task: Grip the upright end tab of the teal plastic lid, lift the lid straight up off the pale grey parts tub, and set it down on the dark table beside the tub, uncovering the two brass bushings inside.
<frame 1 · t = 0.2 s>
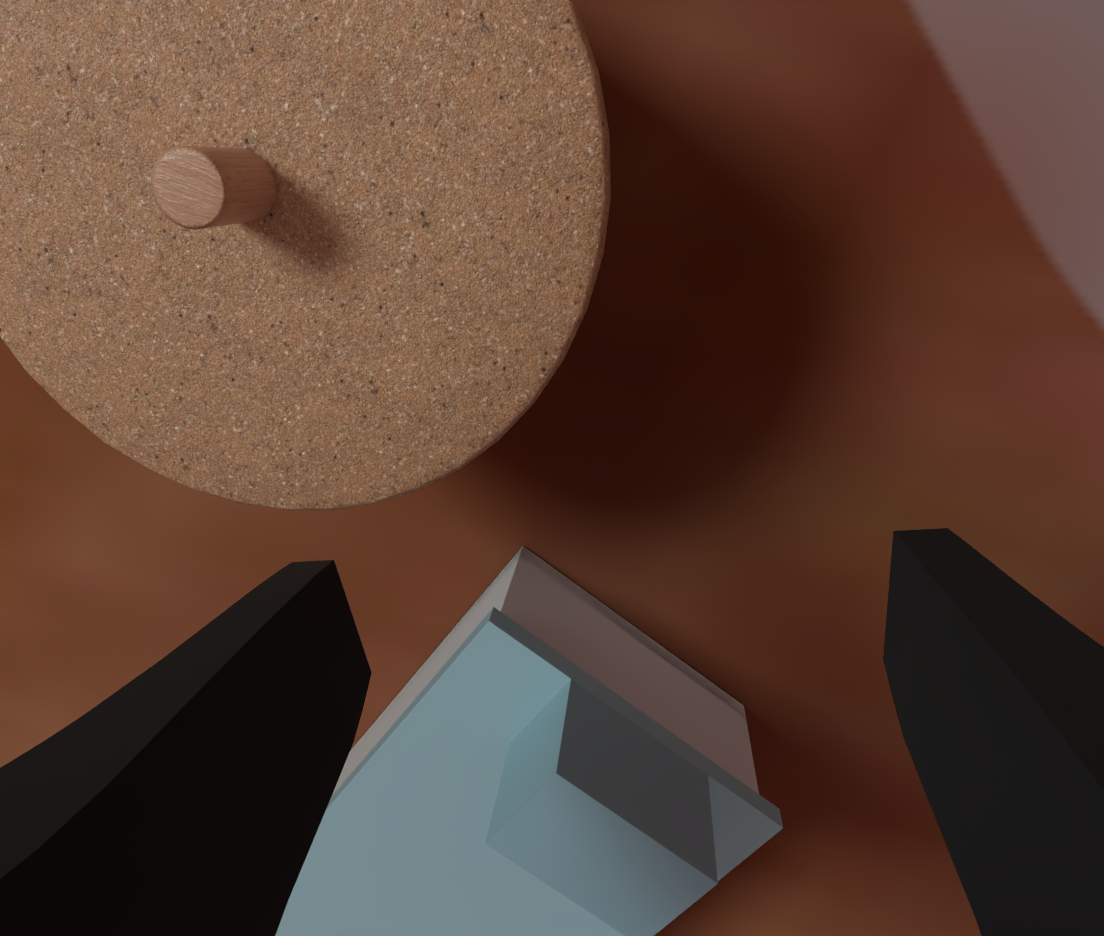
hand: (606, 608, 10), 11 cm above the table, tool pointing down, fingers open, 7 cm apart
lidded jar: (403, 177, 19), on the table
tub: (513, 754, 25), on the table
lid: (478, 904, 20), point 5 cm above the table, touching tub
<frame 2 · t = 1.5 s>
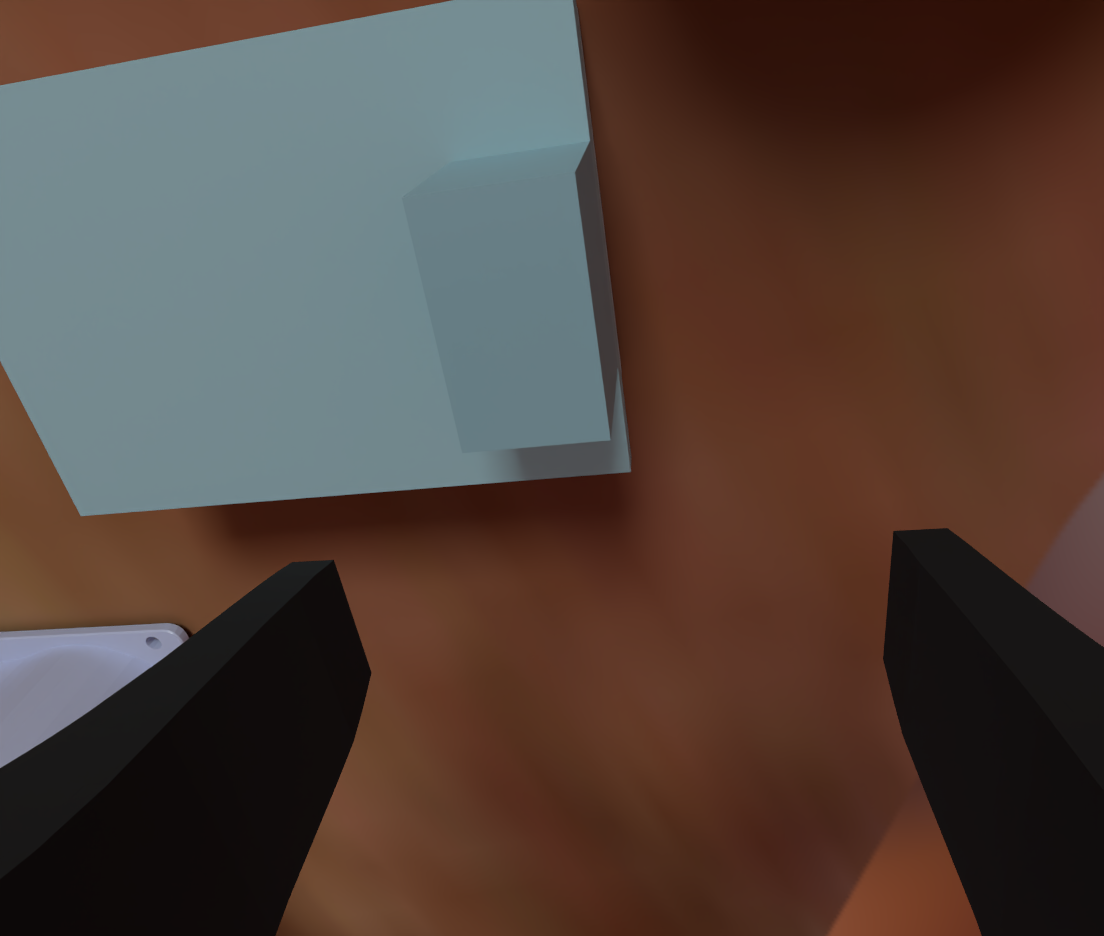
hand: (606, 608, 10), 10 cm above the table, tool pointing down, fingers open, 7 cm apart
tub: (353, 242, 19), on the table
lid: (256, 316, 14), point 5 cm above the table, touching tub
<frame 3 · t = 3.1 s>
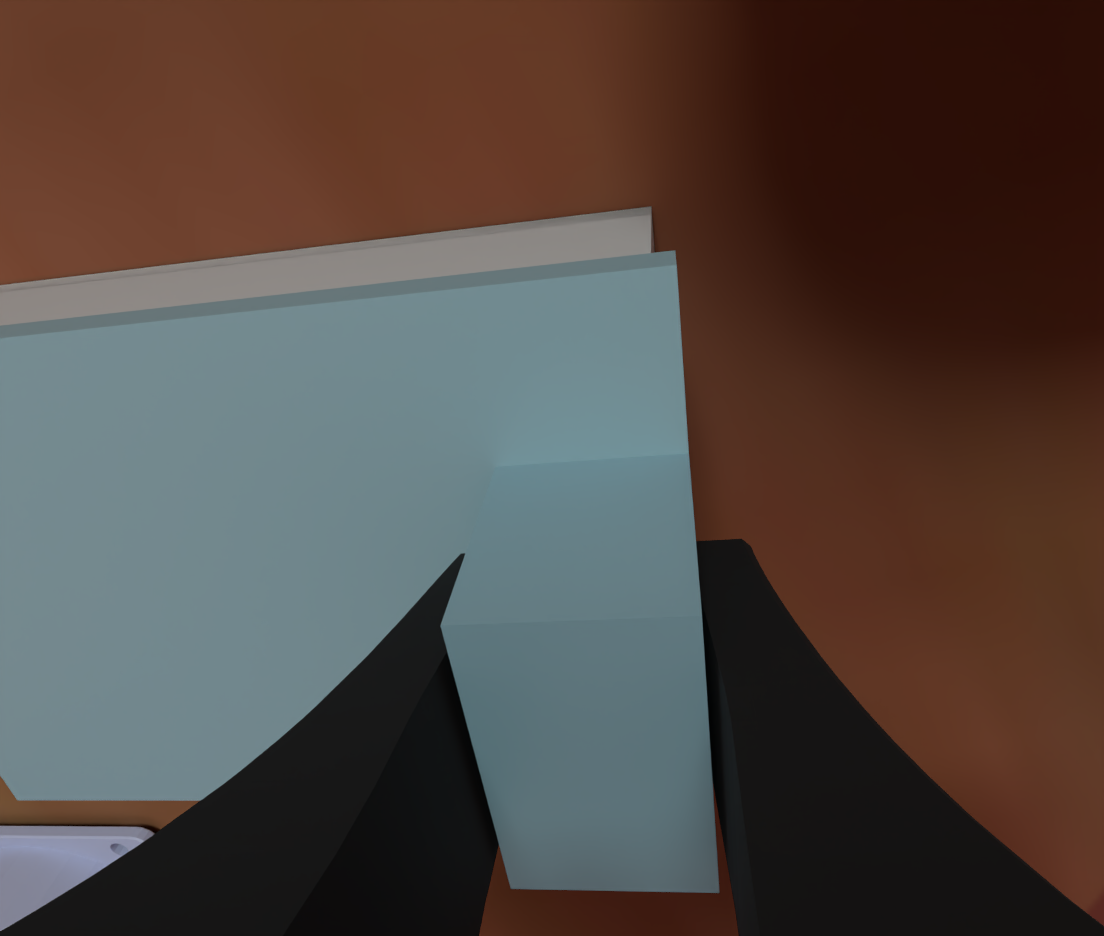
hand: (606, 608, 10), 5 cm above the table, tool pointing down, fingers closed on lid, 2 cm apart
tub: (359, 453, 16), on the table
lid: (234, 641, 11), point 5 cm above the table, touching gripper, tub
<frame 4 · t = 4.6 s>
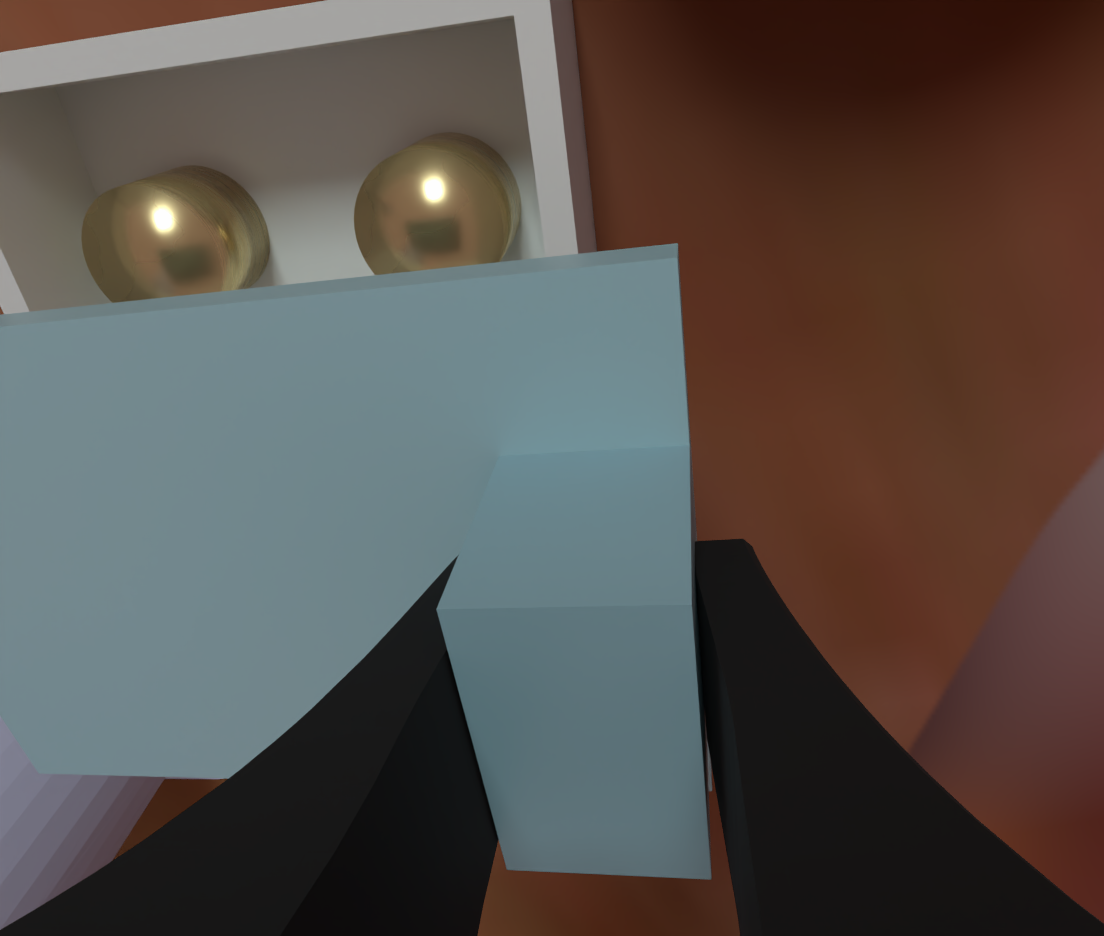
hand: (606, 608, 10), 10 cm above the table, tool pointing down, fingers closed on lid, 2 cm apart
bushing a: (207, 232, 19), point 1 cm above the table, touching tub
bushing b: (454, 204, 18), point 1 cm above the table, touching tub
tub: (336, 213, 19), on the table
lid: (244, 623, 11), point 10 cm above the table, touching gripper
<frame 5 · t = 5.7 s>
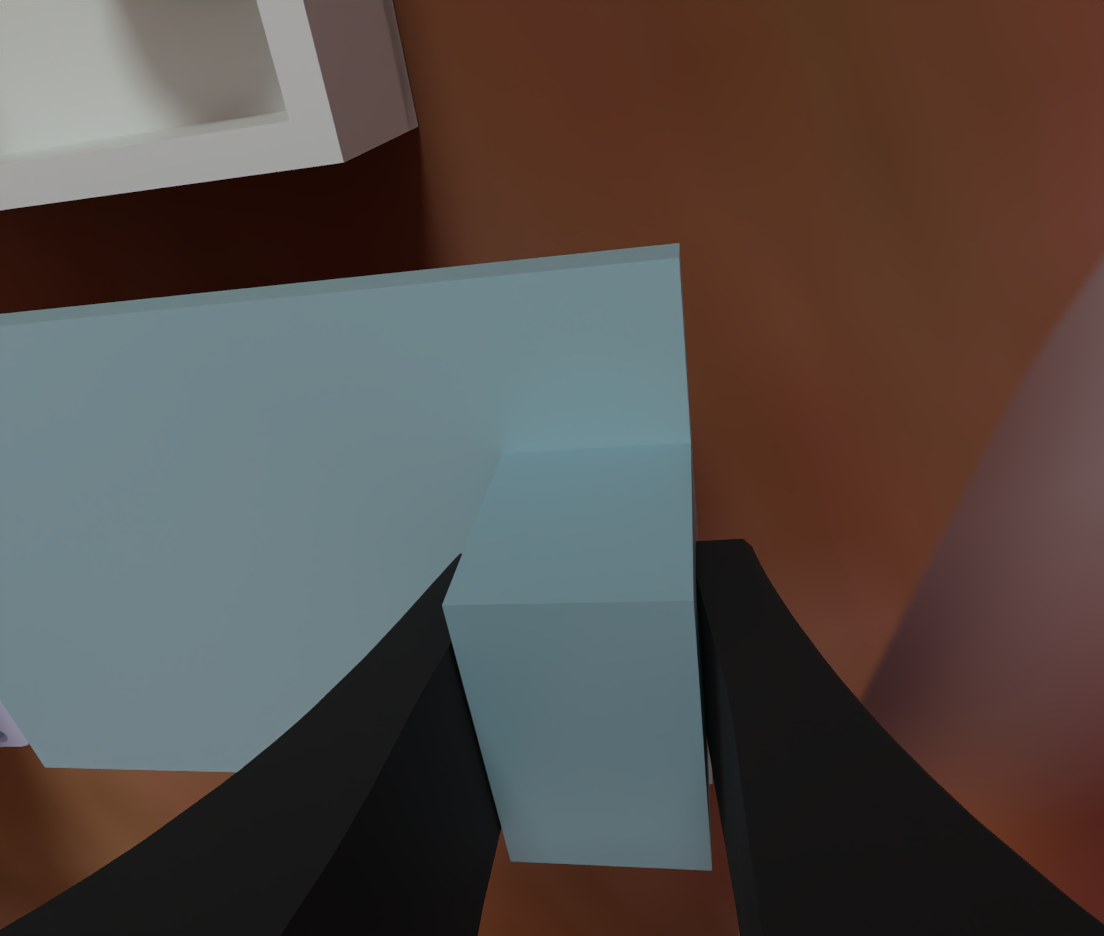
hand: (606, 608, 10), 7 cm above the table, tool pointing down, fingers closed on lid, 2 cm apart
lid: (249, 618, 11), point 7 cm above the table, touching gripper
when the fingers open (3 cm above the table, at t = 6.6 s): lid drops 1 cm, on the table.
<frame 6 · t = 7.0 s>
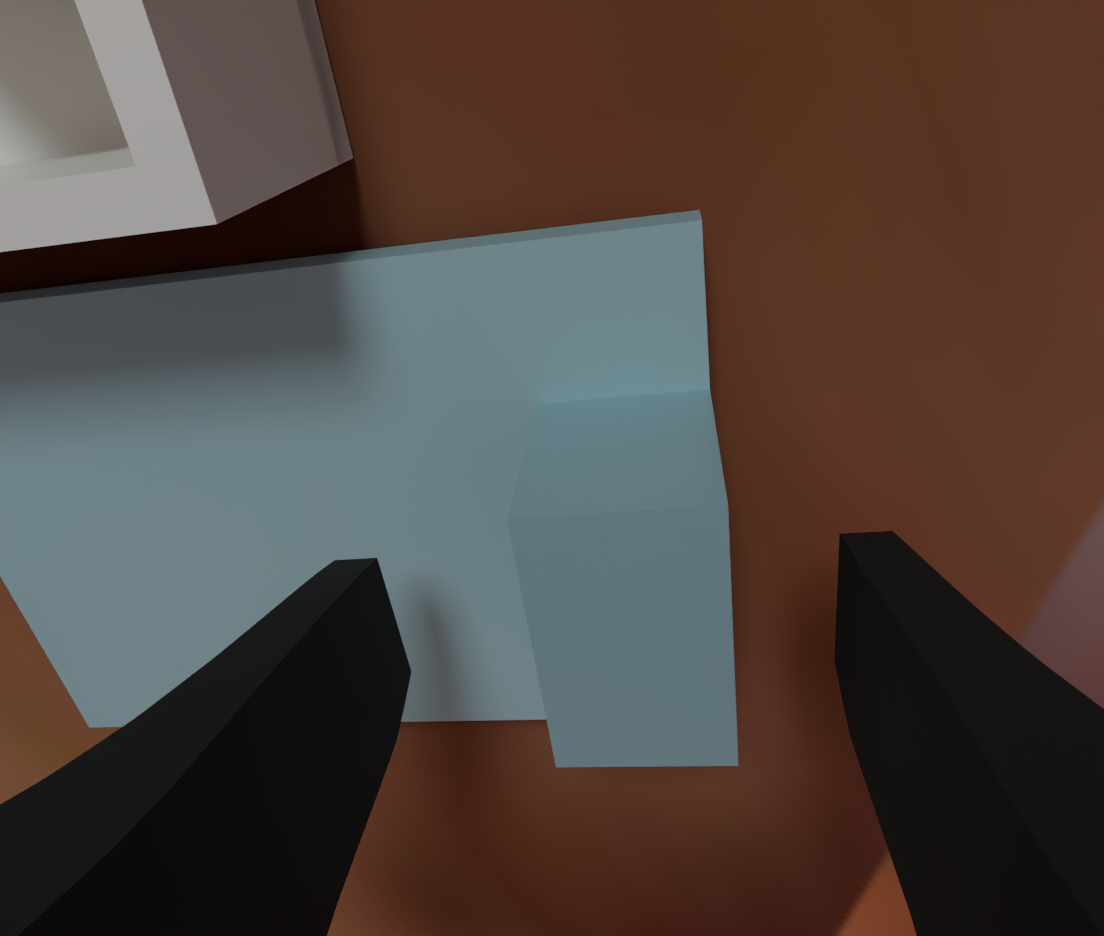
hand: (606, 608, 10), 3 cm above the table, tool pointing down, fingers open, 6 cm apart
lid: (304, 563, 12), on the table
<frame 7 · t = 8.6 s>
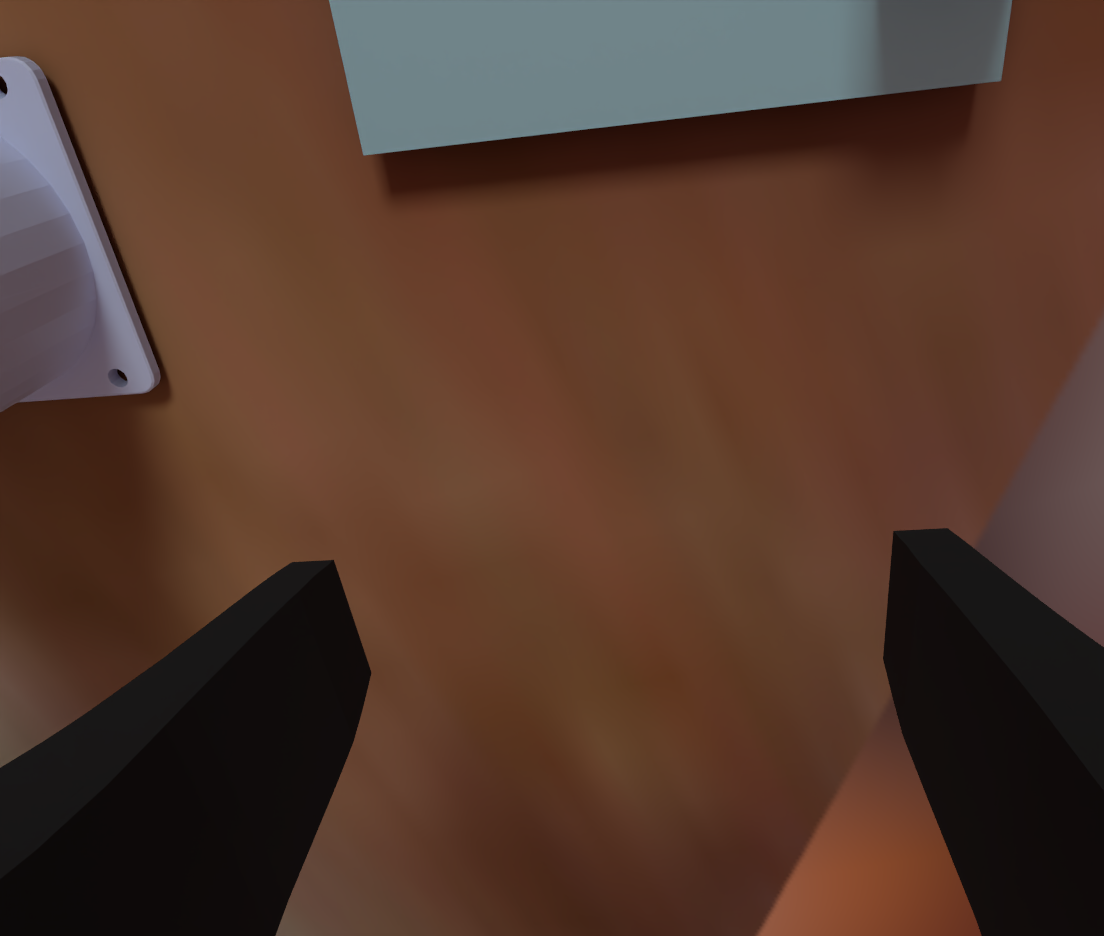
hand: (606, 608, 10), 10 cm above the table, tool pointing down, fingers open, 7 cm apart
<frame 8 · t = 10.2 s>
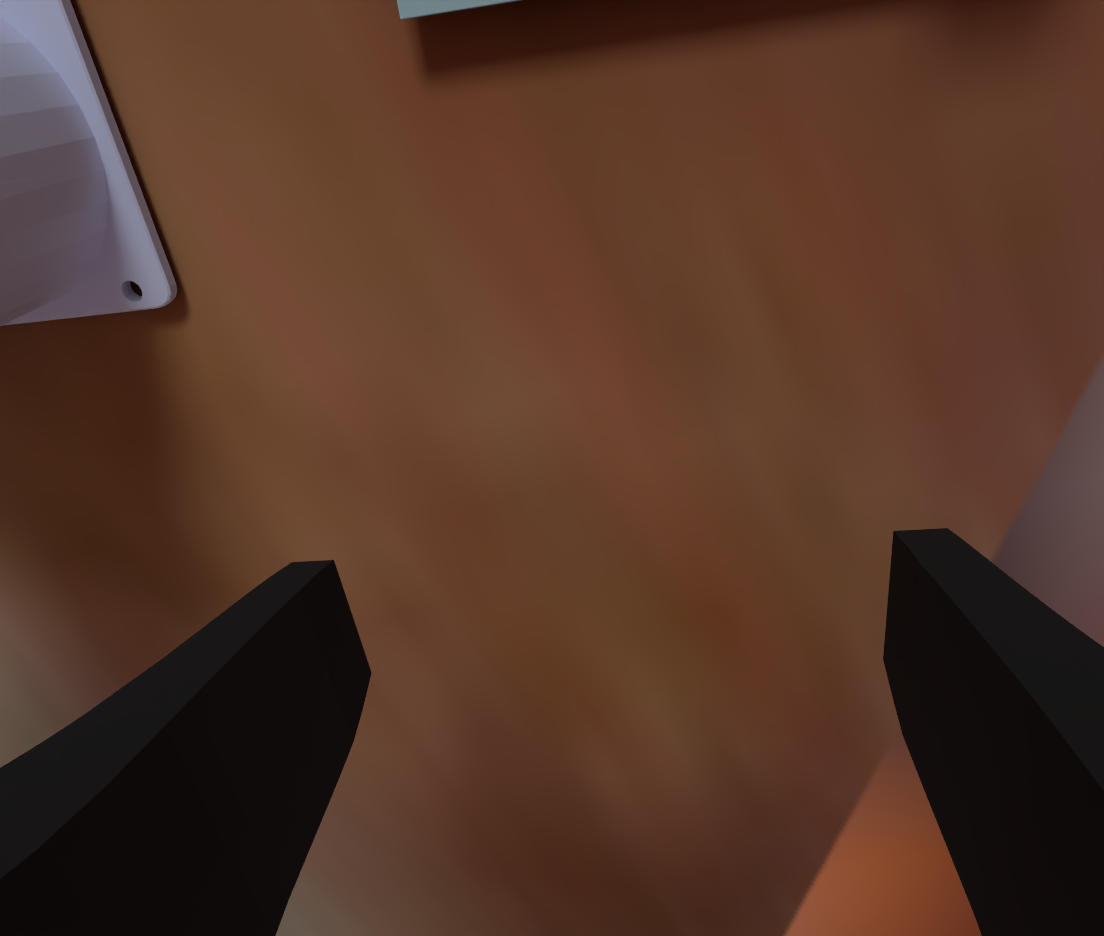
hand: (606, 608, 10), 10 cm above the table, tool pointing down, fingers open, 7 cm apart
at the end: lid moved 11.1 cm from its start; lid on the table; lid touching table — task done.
